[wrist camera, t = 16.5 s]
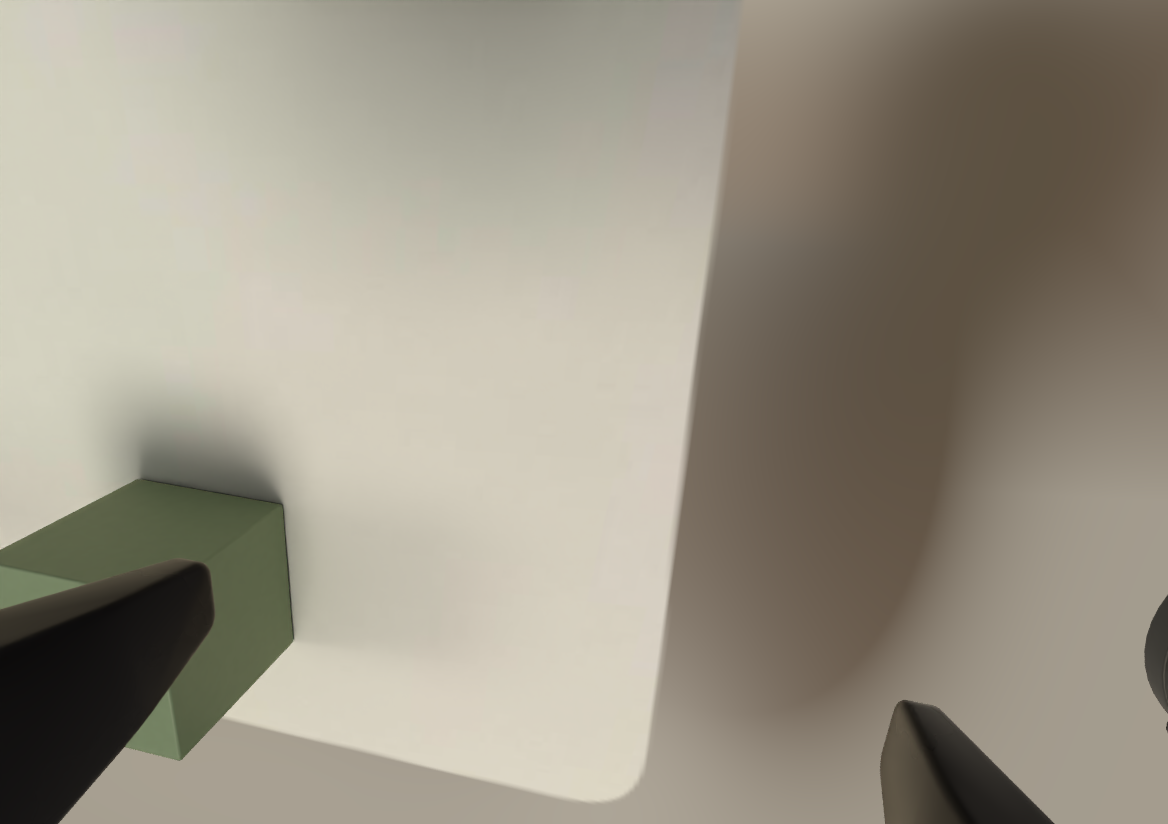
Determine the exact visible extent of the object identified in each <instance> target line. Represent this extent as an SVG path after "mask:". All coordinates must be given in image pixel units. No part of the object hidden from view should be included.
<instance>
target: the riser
mask: <svg viewBox="0 0 1168 824" xmlns="http://www.w3.org/2000/svg"><path fill="white" fill-rule="evenodd" d="M174 558H184V559H189V560H194V561H199V562H203V563H204V564H206V565H207V566H208V568H209V569H210V572H211V579H212V587H213V595H214V603H215V613H216V614H215V621H214V624H213V626H212V629H211V631H210V632H209V634H208V635H207V637H206V638H205V639H204V641H203V642H202V644H201V645H200V646H199V648H198V649H197V651H196V652H195V653H194V655H193V656H192V657H191V659H190V660H189V662H188V663H187V664H186V666H185V667H184V669H183V670H182V671H181V673H180V674H179V675H178V677H177V678H176V680H175V681H174V682H173V684H172V685H171V687H170V688H169V689H168V691H167V692H166V694H165V695H164V696H163V698H162V699H161V700H160V702H159V703H158V705H157V706H156V707H155V709H154V710H153V712H152V713H151V714H150V716H149V717H148V718H147V720H146V721H145V722H144V723H143V725H142V726H141V727H140V729H139V730H138V731H137V732H136V734H135V735H134V736H133V737H132V738H131V740H130V741H129V742H128V743H127V745H126V746H125V747H127V748H131V749H135V750H139V751H143V752H147V753H150V754H155V755H158V756H162V757H166V758H171V759H175V760H182V759H183V758H184V757H185V755H187V753H188V752H189V751H190V750H191V749H192V748H193V747H194V746H195V745H196V744H197V743H198V742H199V741H200V740H201V739H202V738H203V737H204V736H205V734H206V733H207V732H208V731H209V730H210V729H211V728H212V727H213V726H214V725H215V724H216V723H217V722H218V721H219V720H220V719H221V718H222V716H223V715H224V714H225V713H226V712H227V711H228V710H229V709H230V708H231V707H232V706H233V705H234V704H235V703H236V702H237V701H238V700H239V698H240V697H241V696H242V695H243V694H244V693H245V692H246V691H247V690H248V689H249V688H250V687H251V686H252V685H253V684H254V683H255V682H256V680H257V679H258V678H259V677H260V676H261V675H262V674H263V673H264V672H265V671H266V670H267V669H268V668H269V667H270V666H271V665H272V664H273V662H274V661H275V660H276V659H277V658H278V657H279V656H280V655H281V654H282V653H283V652H284V651H285V650H286V649H287V648H288V647H289V645H290V644H291V643H292V642H293V633H292V621H291V608H290V595H289V583H288V570H287V558H286V545H285V532H284V520H283V507H282V505H281V504H276V503H270V502H265V501H259V500H254V499H248V498H242V497H237V496H231V495H225V494H220V493H214V492H209V491H203V490H197V489H192V488H186V487H181V486H175V485H169V484H164V483H158V482H152V481H147V480H141V479H137V480H135V481H133V482H131V483H129V484H127V485H125V486H123V487H121V488H120V489H118V490H116V491H114V492H112V493H110V494H108V495H106V496H104V497H102V498H100V499H98V500H96V501H94V502H92V503H90V504H89V505H87V506H85V507H83V508H81V509H79V510H77V511H75V512H73V513H71V514H69V515H67V516H65V517H63V518H61V519H59V520H58V521H56V522H54V523H52V524H50V525H48V526H46V527H44V528H42V529H40V530H38V531H36V532H34V533H32V534H30V535H28V536H26V537H25V538H23V539H21V540H19V541H17V542H15V543H13V544H11V545H9V546H7V547H5V548H3V549H1V550H0V609H3V608H6V607H10V606H13V605H17V604H20V603H24V602H27V601H30V600H34V599H37V598H41V597H44V596H47V595H51V594H54V593H58V592H61V591H64V590H68V589H71V588H75V587H78V586H81V585H85V584H88V583H92V582H95V581H98V580H102V579H105V578H109V577H112V576H116V575H119V574H122V573H126V572H129V571H133V570H136V569H139V568H143V567H146V566H150V565H153V564H156V563H160V562H163V561H167V560H170V559H174Z"/></svg>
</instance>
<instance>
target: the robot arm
mask: <svg viewBox="0 0 1168 824" xmlns="http://www.w3.org/2000/svg"><path fill="white" fill-rule="evenodd" d="M215 614H216V613H215V603H214V595H213V587H212V579H211V572H210V569H209V568H208V566H207V565H206V564H204V563H203V562H199V561H194V560H189V559H184V558H174V559H170V560H167V561H163V562H160V563H156V564H153V565H150V566H146V567H143V568H139V569H136V570H133V571H129V572H126V573H122V574H119V575H116V576H112V577H109V578H105V579H102V580H98V581H95V582H92V583H88V584H85V585H81V586H78V587H75V588H71V589H68V590H64V591H61V592H58V593H54V594H51V595H47V596H44V597H41V598H37V599H34V600H30V601H27V602H24V603H20V604H17V605H13V606H10V607H6V608H3V609H0V824H58V823H59V822H60V821H61V820H62V819H63V818H64V816H65V815H66V814H67V813H68V812H69V811H70V809H71V808H72V807H73V806H74V805H75V804H76V802H77V801H78V800H79V799H80V798H81V797H82V796H83V794H84V793H85V792H86V791H87V790H88V789H89V787H90V786H91V785H92V784H93V783H94V782H95V780H96V779H97V778H98V777H99V776H100V775H101V773H102V772H103V771H104V770H105V769H106V768H107V766H108V765H109V764H110V763H111V762H112V761H113V760H114V758H115V757H116V756H117V755H118V754H119V753H120V751H121V750H122V749H123V748H124V747H125V746H126V745H127V743H128V742H129V741H130V740H131V738H132V737H133V736H134V735H135V734H136V732H137V731H138V730H139V729H140V727H141V726H142V725H143V723H144V722H145V721H146V720H147V718H148V717H149V716H150V714H151V713H152V712H153V710H154V709H155V707H156V706H157V705H158V703H159V702H160V700H161V699H162V698H163V696H164V695H165V694H166V692H167V691H168V689H169V688H170V687H171V685H172V684H173V682H174V681H175V680H176V678H177V677H178V675H179V674H180V673H181V671H182V670H183V669H184V667H185V666H186V664H187V663H188V662H189V660H190V659H191V657H192V656H193V655H194V653H195V652H196V651H197V649H198V648H199V646H200V645H201V644H202V642H203V641H204V639H205V638H206V637H207V635H208V634H209V632H210V631H211V629H212V626H213V624H214V621H215ZM1166 730H1167V732H1168V722H1167V727H1166ZM880 776H881V786H882V796H883V806H884V816H885V824H1054V823H1053V822H1052V821H1051V820H1050V819H1049V818H1048V817H1047V816H1046V815H1045V814H1044V813H1043V812H1042V811H1041V810H1040V809H1039V808H1038V807H1037V806H1036V805H1035V804H1034V803H1033V802H1032V801H1031V800H1030V799H1029V798H1028V797H1027V796H1026V795H1025V794H1024V793H1023V792H1022V791H1021V790H1020V789H1019V788H1018V787H1017V786H1016V785H1015V784H1014V783H1013V782H1012V781H1011V780H1010V779H1009V778H1008V777H1007V776H1006V775H1005V774H1004V773H1003V772H1002V771H1001V770H1000V769H999V768H998V767H997V766H996V765H995V764H994V763H993V762H992V761H991V760H990V759H989V758H988V757H987V756H986V755H985V754H984V753H983V752H982V751H981V750H980V749H979V748H978V747H977V746H976V745H975V744H974V743H973V742H972V741H971V740H970V739H969V738H968V737H967V736H966V735H965V734H964V733H963V732H962V731H961V730H960V729H959V728H958V727H957V726H956V725H955V724H954V723H953V722H952V721H951V720H950V719H949V718H948V717H947V716H946V715H945V714H944V713H943V712H942V711H941V710H940V709H939V708H937V707H936V706H933V705H928V704H923V703H918V702H913V701H908V700H902V701H900V702H898V704H897V705H896V707H895V709H894V712H893V715H892V719H891V722H890V726H889V729H888V733H887V737H886V740H885V743H884V747H883V751H882V755H881V763H880Z"/></svg>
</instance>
